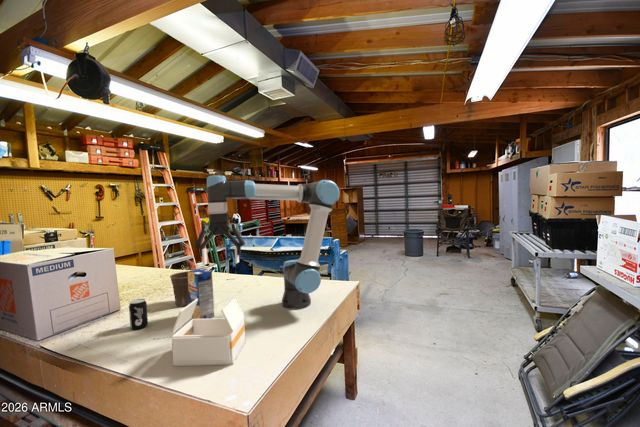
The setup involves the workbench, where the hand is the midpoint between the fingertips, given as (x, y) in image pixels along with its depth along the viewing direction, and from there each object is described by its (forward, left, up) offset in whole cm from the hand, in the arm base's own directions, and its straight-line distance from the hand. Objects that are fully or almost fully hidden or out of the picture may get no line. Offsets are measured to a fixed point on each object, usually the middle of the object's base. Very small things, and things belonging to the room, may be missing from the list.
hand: (221, 263), depth 117 cm
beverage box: (+17, -15, -29) cm, 37 cm away
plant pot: (+34, -35, -29) cm, 57 cm away
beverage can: (+41, -5, -29) cm, 50 cm away
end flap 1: (+8, +19, -18) cm, 27 cm away
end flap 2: (-13, +19, -18) cm, 29 cm away
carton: (-2, +19, -29) cm, 34 cm away
